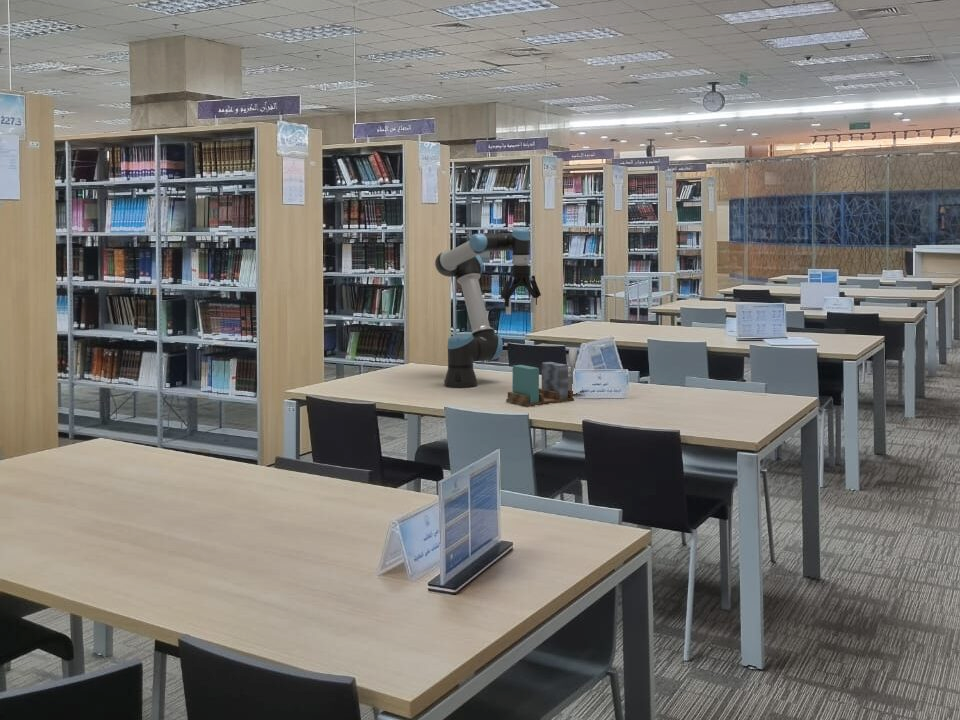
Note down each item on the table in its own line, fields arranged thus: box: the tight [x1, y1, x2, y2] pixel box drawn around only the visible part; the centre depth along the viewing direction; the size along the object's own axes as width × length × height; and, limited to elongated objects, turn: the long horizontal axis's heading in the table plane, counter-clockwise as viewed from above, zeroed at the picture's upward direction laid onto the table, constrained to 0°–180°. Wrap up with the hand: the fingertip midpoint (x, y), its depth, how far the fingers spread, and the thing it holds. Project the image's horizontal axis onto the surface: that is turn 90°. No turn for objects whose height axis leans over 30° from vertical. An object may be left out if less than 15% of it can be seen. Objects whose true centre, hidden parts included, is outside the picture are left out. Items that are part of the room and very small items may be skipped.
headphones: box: [568, 347, 579, 390], centre depth 428 cm, size 19×9×20 cm, turn 171°
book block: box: [512, 364, 540, 403], centre depth 405 cm, size 12×4×14 cm, turn 35°
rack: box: [505, 361, 575, 408], centre depth 409 cm, size 14×25×15 cm, turn 125°
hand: (520, 313), depth 429 cm, fingers open, 13 cm apart
